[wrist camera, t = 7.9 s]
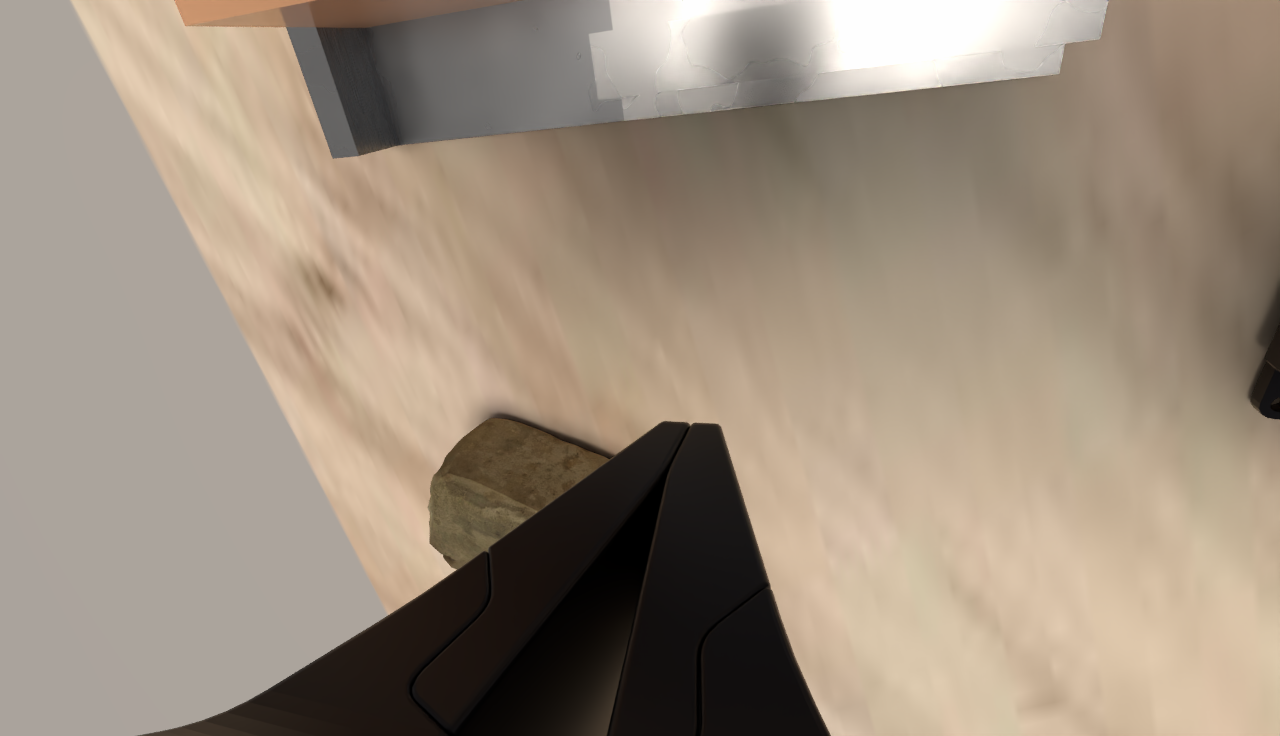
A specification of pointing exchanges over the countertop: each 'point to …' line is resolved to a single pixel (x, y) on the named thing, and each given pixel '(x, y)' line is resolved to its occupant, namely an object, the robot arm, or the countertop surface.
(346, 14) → the block
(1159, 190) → the countertop surface
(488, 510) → the stone block
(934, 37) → the chute
